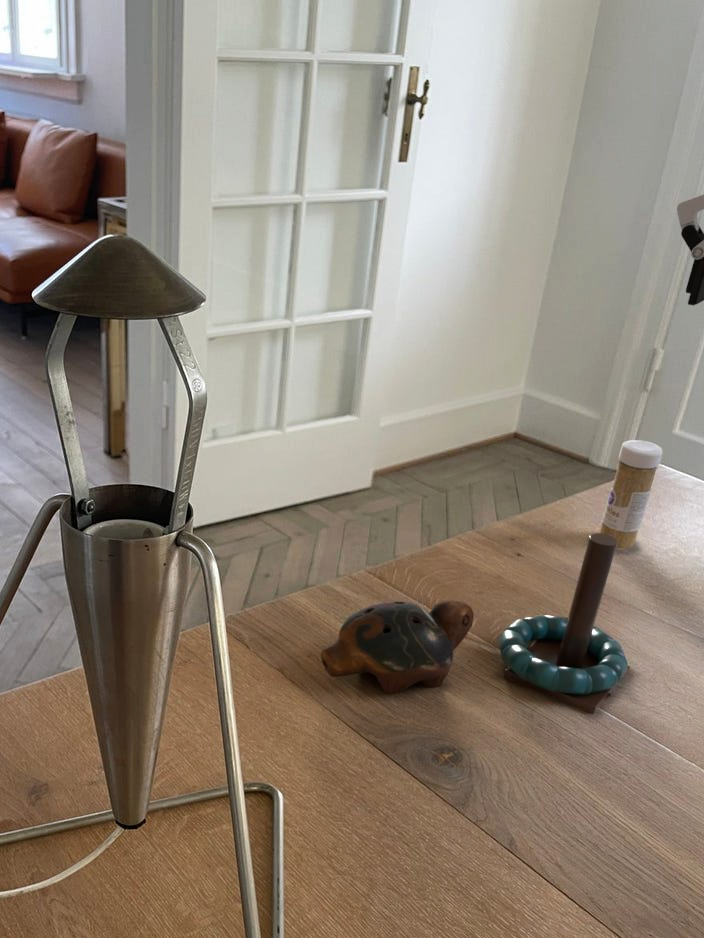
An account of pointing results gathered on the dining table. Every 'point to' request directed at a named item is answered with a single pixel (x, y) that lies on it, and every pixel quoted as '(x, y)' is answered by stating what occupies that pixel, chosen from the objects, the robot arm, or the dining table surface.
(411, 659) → the decorative turtle
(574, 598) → the post
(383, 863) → the dining table surface
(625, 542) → the sprinkles bottle
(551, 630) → the ring
